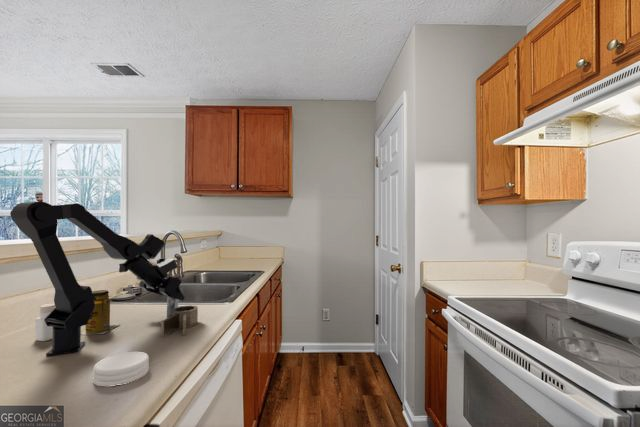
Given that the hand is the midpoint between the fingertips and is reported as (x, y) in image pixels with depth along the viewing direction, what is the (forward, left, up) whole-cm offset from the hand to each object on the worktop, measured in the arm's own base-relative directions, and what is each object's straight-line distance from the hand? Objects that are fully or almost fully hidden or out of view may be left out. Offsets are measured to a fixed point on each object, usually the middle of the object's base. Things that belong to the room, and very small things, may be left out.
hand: (176, 297), depth 109 cm
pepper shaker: (-9, +33, -7) cm, 35 cm away
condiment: (-6, +21, -7) cm, 23 cm away
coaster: (-43, +9, -7) cm, 44 cm away
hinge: (-15, -2, -7) cm, 16 cm away
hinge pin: (-1, +1, -7) cm, 7 cm away
